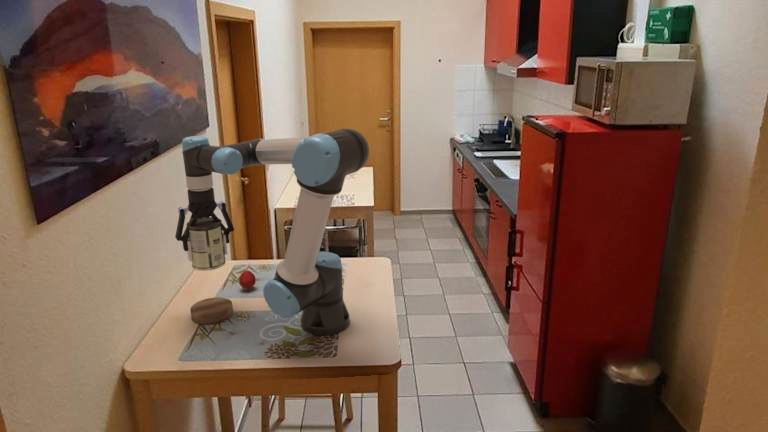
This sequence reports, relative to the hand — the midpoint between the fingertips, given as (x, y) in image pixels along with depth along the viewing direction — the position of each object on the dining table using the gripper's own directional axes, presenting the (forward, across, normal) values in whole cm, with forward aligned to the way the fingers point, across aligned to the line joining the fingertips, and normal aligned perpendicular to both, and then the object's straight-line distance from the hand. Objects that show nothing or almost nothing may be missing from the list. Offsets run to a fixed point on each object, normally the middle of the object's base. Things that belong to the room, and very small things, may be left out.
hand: (208, 256), depth 167 cm
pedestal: (+20, +1, 0) cm, 20 cm away
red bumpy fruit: (+21, -15, -12) cm, 28 cm away
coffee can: (+3, 0, 0) cm, 3 cm away
